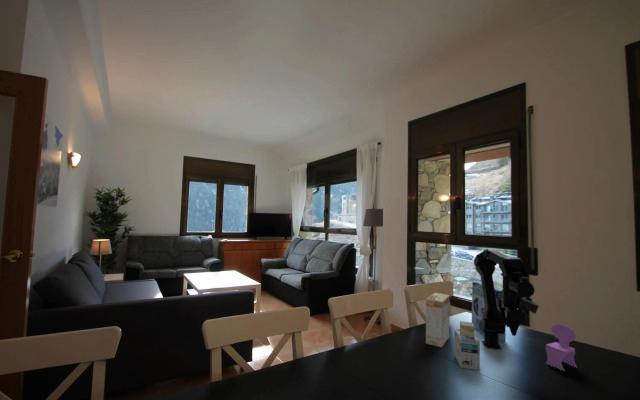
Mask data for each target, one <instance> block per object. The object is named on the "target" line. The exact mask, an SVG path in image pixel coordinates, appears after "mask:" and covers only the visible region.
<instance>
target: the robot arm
mask: <svg viewBox="0 0 640 400" xmlns="http://www.w3.org/2000/svg"><path fill="white" fill-rule="evenodd" d="M473 264H474V266H475V271H476V272H477V273H478V274H479V275H480V279H481V280H480V282H481V283H482V288H483V296H484V303H485V310H484V312H483V314H482V320H481V321H480V323H479V329H480V330H481V331H482V332H484V333H483V340H482V341H481V342H482V345H483V348H488V349H495V350H500V351H501V350H502V347H501V346H500V342H499V334H504V332H505V327H506V328H509V331H510V333H511V336H512V337H513V336H514V337H516V336H517V333H518V330H519V327H520V324H522V323H525V322H527V321H528V315H527V314H526V312H525V311H524V310H527V311H529V312H531V313H532V314H536V313H537V311H538V309H539V307H540V305H538V304H537V303H536V302H534V301H533V299H532V298H531V297H533V295H534V294H535V287H534V285H533V284H532V283H531V281H529V272H528V270H527V268H526V265H525V262H524V261H523V260H522V259H521V258H520V257H514V256H507V255H506V254H504V253H502V252H500V251H499V250H497V249H495V248H484V249H483V251H481V252H480V253H478V254H476V255H475V257H474V259H473ZM497 265H498V269H500V271H501V274H500V275H501V277H502V289H500V290H501V293H502V298H499V299H498V303H497V302H496V296H495V289H494V287H495V283H494V277H493V274H494V273H495V271H496V266H497ZM502 290H503V291H502ZM497 304H498V307H499V309H500V311H499V310H498V308H497ZM481 331H480V332H481ZM482 332H481V333H482Z"/></svg>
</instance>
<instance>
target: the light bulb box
mask: <svg viewBox="0 0 640 400" xmlns="http://www.w3.org/2000/svg"><path fill="white" fill-rule="evenodd" d="M480 343H481V341H480V339H479V338H478V337H477V336H476V335H475V334H474V337H469V336H462V335H461V333H460V328H454V357H455V359H456V361H457V363H458V364H459V367H460V368H461V369H470V370H476V371H480V370H481V356H480V355H481V354H480V351H481V347H480V346H481V344H480Z"/></svg>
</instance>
